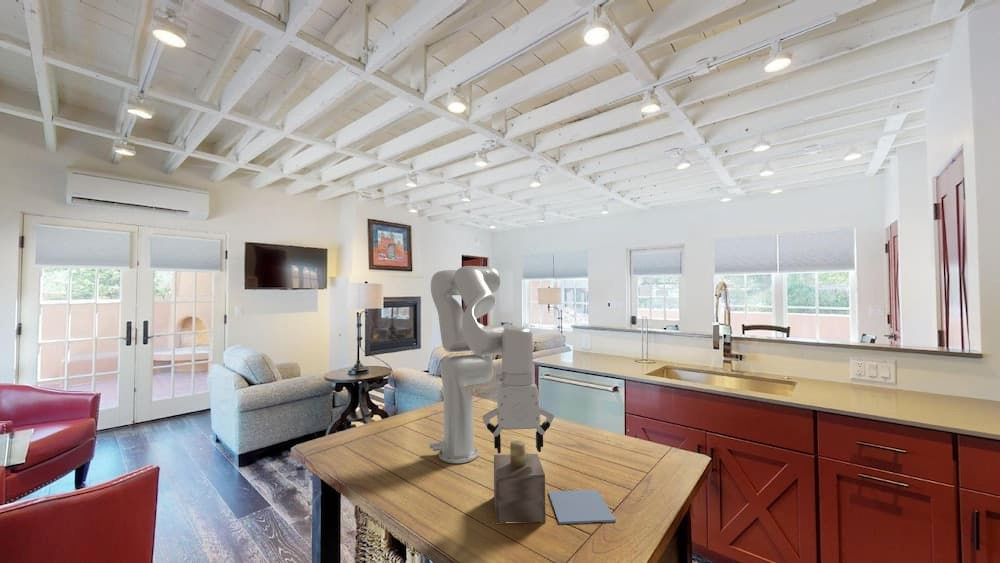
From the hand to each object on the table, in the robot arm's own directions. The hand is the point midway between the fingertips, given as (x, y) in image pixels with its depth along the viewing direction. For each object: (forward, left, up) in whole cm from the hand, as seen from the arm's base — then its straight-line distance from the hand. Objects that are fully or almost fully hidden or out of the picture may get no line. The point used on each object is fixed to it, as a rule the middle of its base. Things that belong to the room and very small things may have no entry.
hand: (518, 450), depth 90 cm
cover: (0, 0, -14) cm, 14 cm away
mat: (+15, 0, -14) cm, 20 cm away
